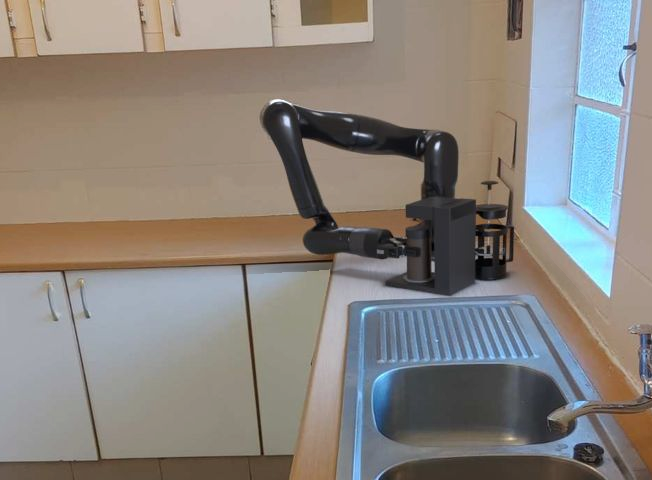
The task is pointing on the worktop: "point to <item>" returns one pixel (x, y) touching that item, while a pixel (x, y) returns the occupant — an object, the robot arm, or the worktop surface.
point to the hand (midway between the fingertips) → (427, 249)
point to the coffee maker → (446, 245)
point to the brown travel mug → (421, 265)
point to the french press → (494, 265)
